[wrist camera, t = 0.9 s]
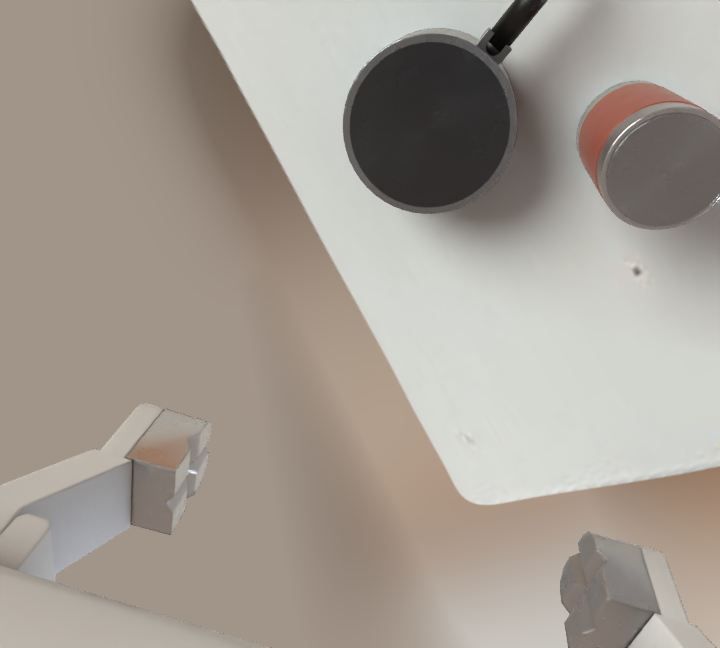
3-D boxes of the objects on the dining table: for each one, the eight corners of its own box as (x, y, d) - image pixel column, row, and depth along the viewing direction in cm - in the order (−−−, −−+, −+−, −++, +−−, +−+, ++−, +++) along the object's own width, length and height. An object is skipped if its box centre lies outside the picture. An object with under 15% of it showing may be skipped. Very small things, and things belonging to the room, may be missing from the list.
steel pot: (441, 218, 49) (437, 245, 44) (329, 126, 47) (310, 142, 42) (640, 0, 40) (664, 1, 34) (508, -130, 37) (512, -149, 32)
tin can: (632, 57, 41) (678, 78, 32) (703, 125, 42) (768, 164, 33) (554, 139, 45) (574, 180, 35) (622, 200, 46) (658, 255, 36)
